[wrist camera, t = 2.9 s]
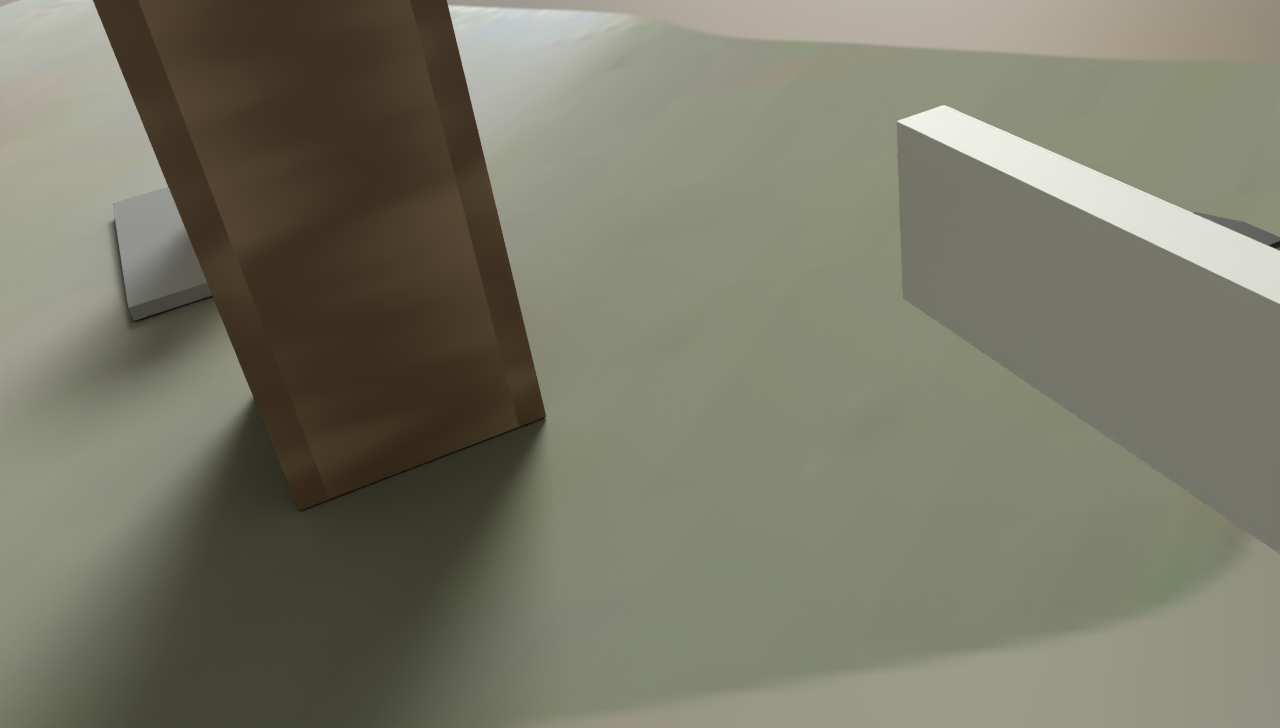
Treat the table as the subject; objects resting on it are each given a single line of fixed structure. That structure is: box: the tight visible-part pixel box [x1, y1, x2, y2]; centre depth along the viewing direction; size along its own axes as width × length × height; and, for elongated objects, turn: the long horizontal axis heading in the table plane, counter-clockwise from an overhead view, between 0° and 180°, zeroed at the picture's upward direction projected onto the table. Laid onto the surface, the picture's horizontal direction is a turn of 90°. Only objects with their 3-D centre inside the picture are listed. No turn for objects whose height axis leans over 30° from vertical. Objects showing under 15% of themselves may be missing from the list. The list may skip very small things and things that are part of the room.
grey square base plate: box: [113, 187, 212, 321], centre depth 33 cm, size 8×8×7 cm
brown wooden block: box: [93, 0, 546, 511], centre depth 22 cm, size 5×5×12 cm
